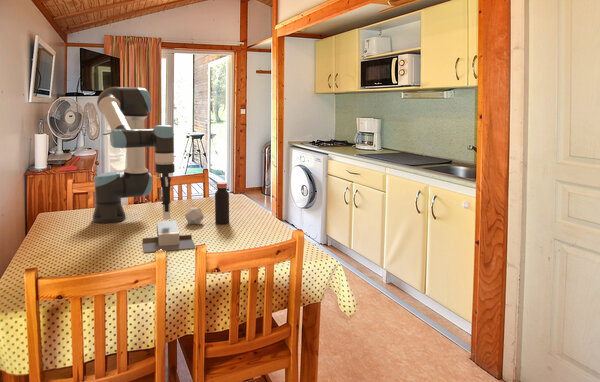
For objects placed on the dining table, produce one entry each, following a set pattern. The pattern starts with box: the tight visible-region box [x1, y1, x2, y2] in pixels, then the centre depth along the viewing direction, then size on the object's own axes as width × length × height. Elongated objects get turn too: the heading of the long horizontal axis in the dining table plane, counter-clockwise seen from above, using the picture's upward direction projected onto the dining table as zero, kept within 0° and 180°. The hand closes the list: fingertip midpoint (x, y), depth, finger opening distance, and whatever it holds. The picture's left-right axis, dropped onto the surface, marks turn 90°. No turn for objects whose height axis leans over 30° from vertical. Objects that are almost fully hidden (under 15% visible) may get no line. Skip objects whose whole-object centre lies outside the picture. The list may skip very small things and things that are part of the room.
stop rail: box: [142, 233, 193, 243], centre depth 198 cm, size 1×20×2 cm, turn 111°
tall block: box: [156, 220, 180, 246], centre depth 195 cm, size 5×8×12 cm
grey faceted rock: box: [184, 207, 205, 225], centre depth 227 cm, size 8×9×10 cm
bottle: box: [214, 181, 230, 226], centre depth 228 cm, size 7×7×20 cm
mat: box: [142, 239, 196, 254], centre depth 191 cm, size 14×20×1 cm
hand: (166, 218), depth 197 cm, fingers closed
